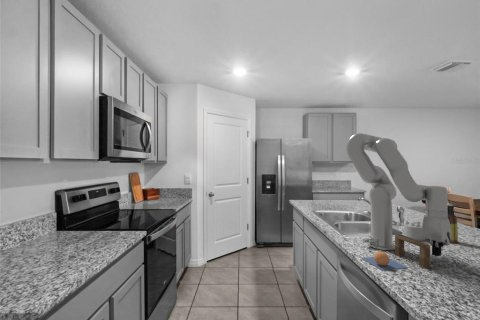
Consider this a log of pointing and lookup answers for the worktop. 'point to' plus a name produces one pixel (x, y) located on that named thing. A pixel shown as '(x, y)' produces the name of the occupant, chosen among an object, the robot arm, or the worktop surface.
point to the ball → (381, 258)
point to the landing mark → (389, 266)
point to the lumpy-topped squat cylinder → (413, 230)
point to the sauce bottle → (452, 224)
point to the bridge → (423, 246)
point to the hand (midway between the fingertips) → (436, 255)
